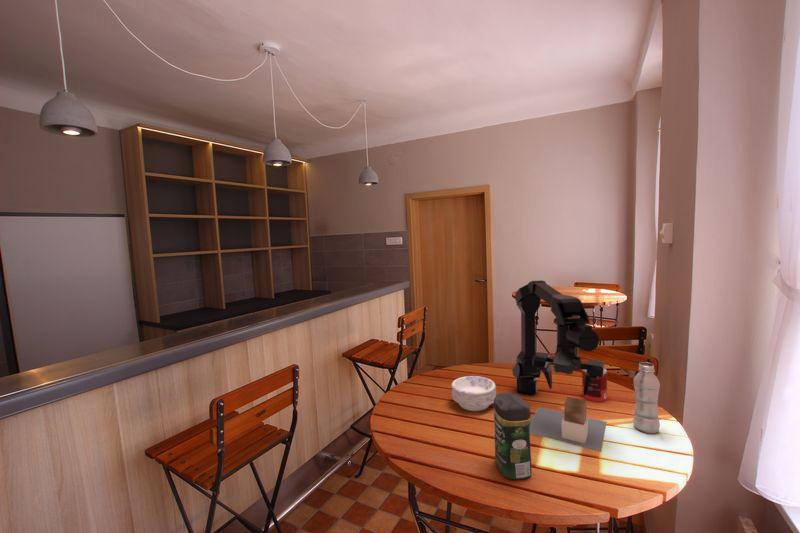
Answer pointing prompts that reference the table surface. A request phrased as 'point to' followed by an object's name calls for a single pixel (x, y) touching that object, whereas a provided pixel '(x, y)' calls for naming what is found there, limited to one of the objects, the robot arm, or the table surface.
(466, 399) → the paper bowls
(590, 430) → the build mat
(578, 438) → the cream block
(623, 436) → the table surface
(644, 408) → the plastic bottle
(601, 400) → the canned food
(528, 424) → the coffee jar
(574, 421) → the walnut block
